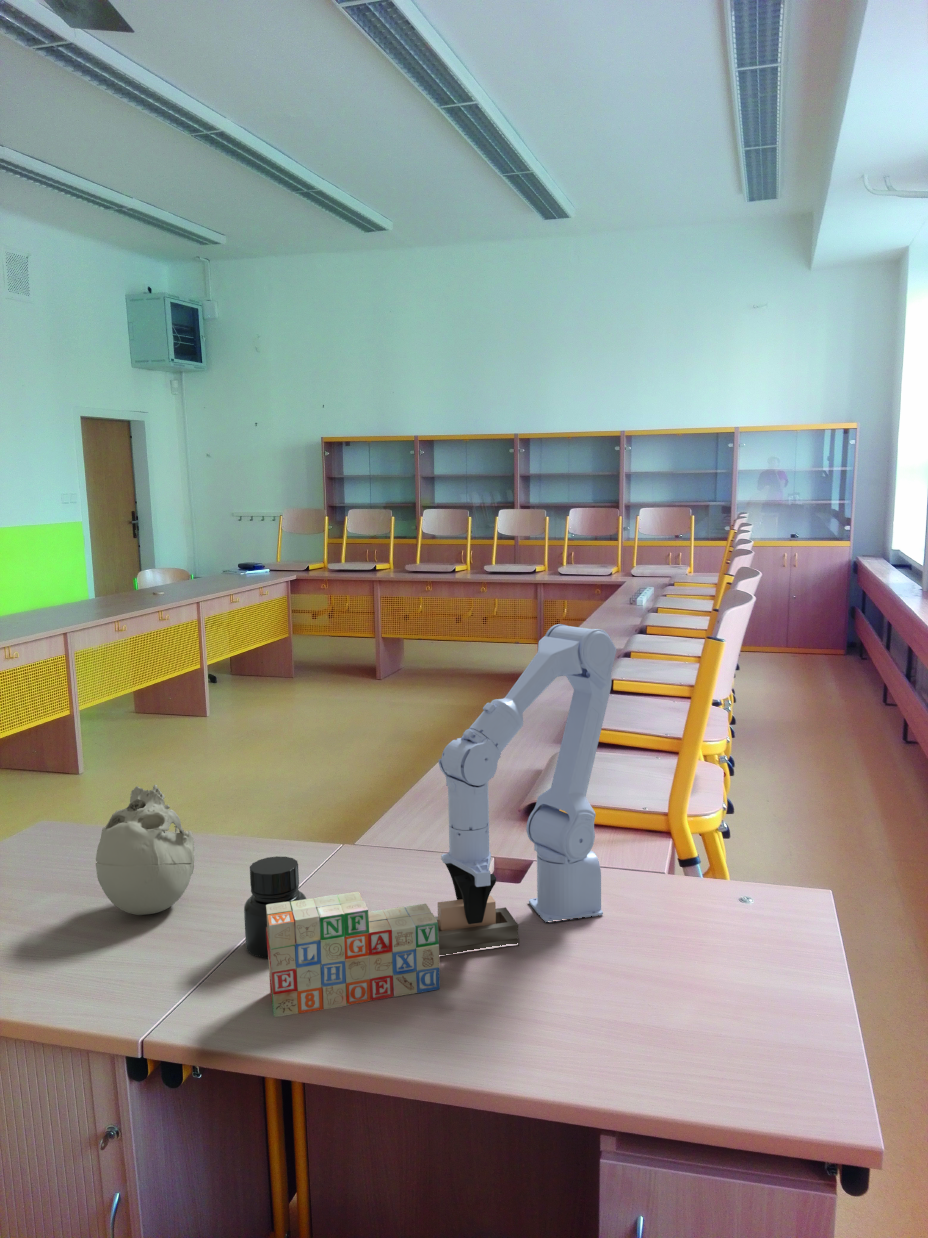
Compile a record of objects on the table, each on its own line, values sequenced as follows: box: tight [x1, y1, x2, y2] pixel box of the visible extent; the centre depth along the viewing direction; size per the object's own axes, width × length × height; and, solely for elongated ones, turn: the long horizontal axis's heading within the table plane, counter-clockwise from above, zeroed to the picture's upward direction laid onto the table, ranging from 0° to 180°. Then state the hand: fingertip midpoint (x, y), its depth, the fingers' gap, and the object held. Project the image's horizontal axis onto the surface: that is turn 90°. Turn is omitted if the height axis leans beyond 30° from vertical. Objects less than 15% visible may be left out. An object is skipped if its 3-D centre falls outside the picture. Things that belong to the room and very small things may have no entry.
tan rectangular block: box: [437, 895, 497, 931], centre depth 130 cm, size 8×2×5 cm, turn 105°
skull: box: [95, 784, 195, 916], centre depth 141 cm, size 13×15×20 cm
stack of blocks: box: [266, 891, 441, 1018], centre depth 117 cm, size 21×6×12 cm, turn 106°
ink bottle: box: [243, 856, 307, 959], centre depth 130 cm, size 10×9×12 cm
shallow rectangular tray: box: [434, 907, 520, 955], centre depth 130 cm, size 12×6×3 cm, turn 105°
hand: (470, 915), depth 130 cm, fingers open, 4 cm apart
